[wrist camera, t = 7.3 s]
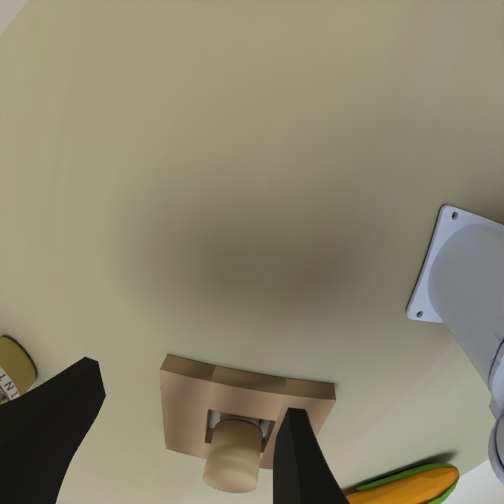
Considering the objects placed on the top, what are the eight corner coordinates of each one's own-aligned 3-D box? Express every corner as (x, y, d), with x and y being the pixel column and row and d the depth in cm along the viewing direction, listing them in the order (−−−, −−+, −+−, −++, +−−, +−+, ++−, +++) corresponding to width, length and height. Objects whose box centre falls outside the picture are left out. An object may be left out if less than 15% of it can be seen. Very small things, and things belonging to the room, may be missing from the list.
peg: (256, 400, 23) (247, 471, 16) (269, 427, 24) (263, 492, 17) (211, 405, 23) (193, 471, 17) (226, 431, 25) (214, 492, 18)
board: (333, 383, 21) (336, 400, 20) (294, 457, 26) (294, 471, 24) (167, 354, 22) (159, 369, 20) (170, 435, 26) (166, 448, 24)
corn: (463, 504, 19) (318, 547, 24) (450, 465, 26) (319, 507, 31) (469, 486, 18) (301, 536, 22) (451, 441, 25) (303, 490, 29)
